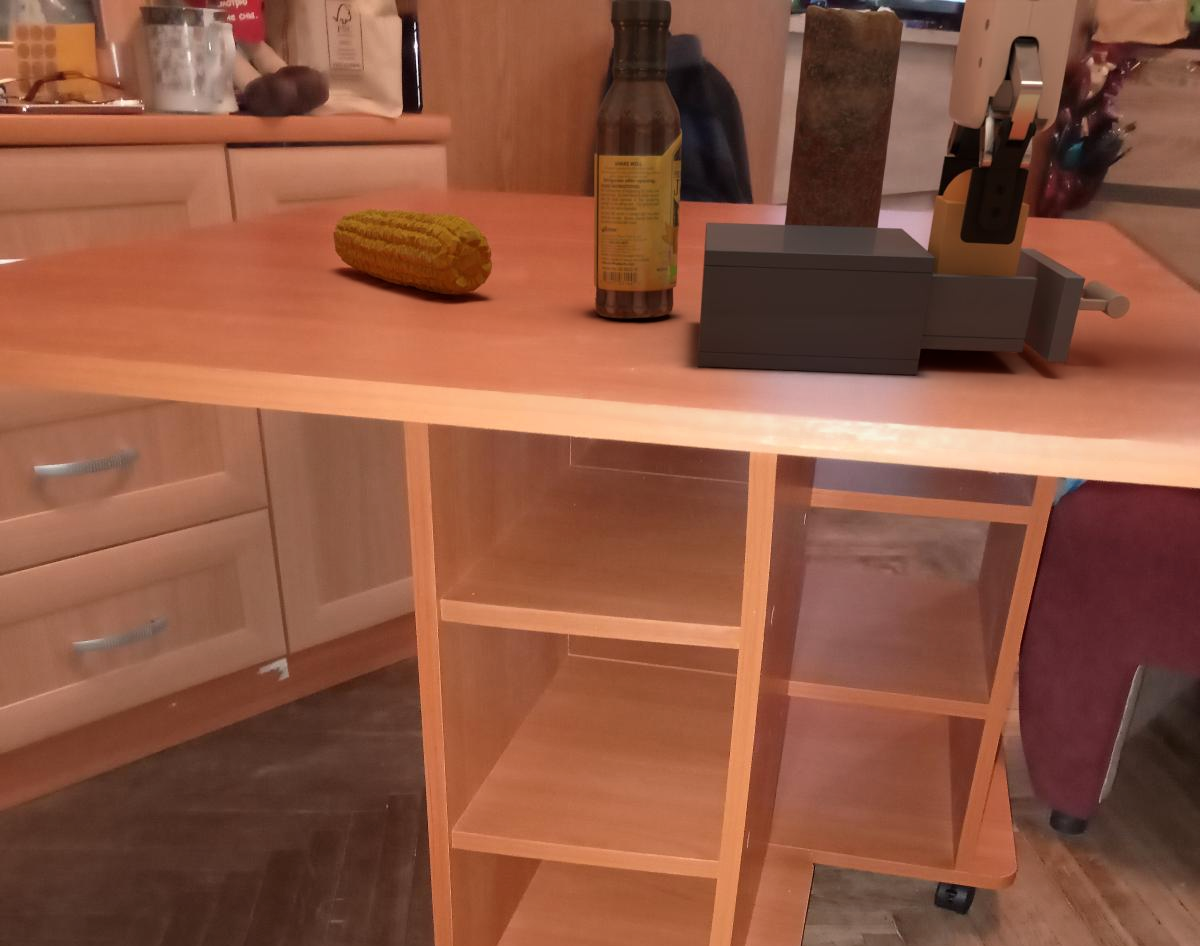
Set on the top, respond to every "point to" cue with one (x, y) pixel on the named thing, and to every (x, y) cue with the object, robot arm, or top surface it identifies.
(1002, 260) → the orange container
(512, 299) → the top surface
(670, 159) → the sauce bottle
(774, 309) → the cabinet
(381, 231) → the food
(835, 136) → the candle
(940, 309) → the drawer
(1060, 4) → the robot arm
